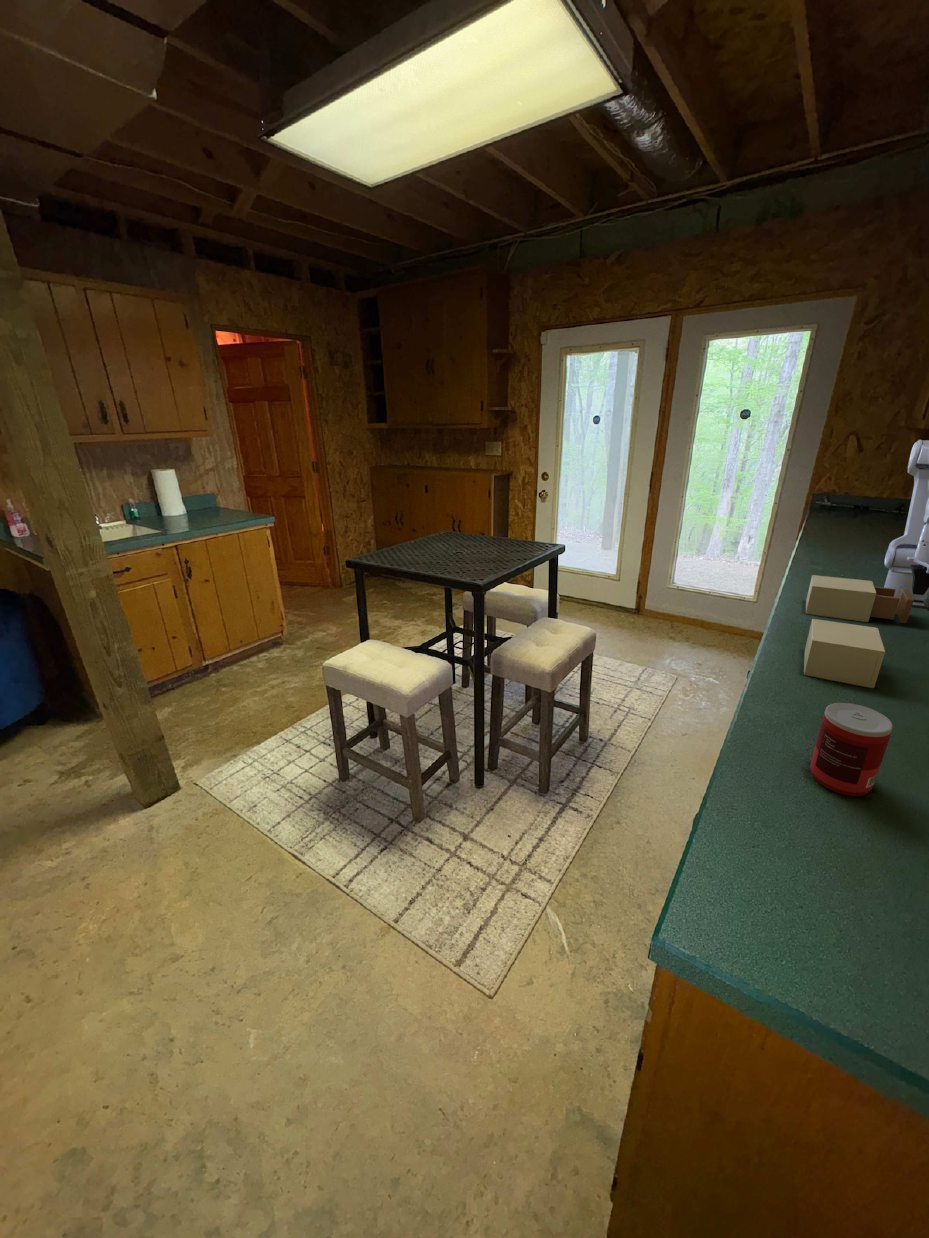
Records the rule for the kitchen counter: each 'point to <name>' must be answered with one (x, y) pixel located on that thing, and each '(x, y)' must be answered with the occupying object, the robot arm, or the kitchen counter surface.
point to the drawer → (894, 604)
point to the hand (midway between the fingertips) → (917, 593)
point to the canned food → (850, 748)
